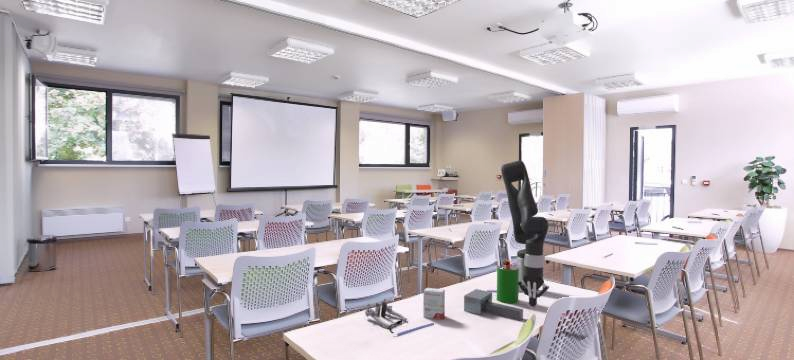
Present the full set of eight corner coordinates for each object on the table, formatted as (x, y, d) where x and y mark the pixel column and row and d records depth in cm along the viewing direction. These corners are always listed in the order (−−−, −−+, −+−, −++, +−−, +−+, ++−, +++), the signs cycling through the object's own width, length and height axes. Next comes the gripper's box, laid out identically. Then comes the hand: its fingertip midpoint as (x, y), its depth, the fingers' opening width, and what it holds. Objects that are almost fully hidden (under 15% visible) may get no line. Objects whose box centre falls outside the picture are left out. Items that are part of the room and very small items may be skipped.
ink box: (445, 316, 176) (445, 289, 176) (442, 320, 172) (443, 292, 171) (426, 313, 179) (426, 287, 179) (423, 317, 174) (423, 290, 174)
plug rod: (479, 308, 186) (479, 299, 186) (522, 318, 174) (523, 309, 174) (476, 310, 183) (476, 301, 183) (519, 320, 171) (520, 311, 171)
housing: (475, 303, 192) (476, 289, 192) (491, 307, 187) (492, 292, 187) (463, 310, 182) (464, 295, 182) (480, 315, 178) (480, 299, 177)
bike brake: (360, 317, 172) (392, 339, 158) (362, 302, 171) (394, 323, 157) (384, 310, 181) (416, 330, 167) (386, 295, 180) (419, 314, 166)
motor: (516, 297, 201) (517, 257, 200) (520, 303, 192) (521, 261, 191) (495, 296, 202) (496, 256, 201) (498, 303, 193) (499, 261, 192)
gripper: (552, 265, 168) (551, 307, 168) (521, 260, 176) (520, 300, 176) (547, 269, 162) (546, 312, 162) (514, 263, 170) (513, 305, 170)
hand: (532, 306), depth 169 cm, fingers closed
